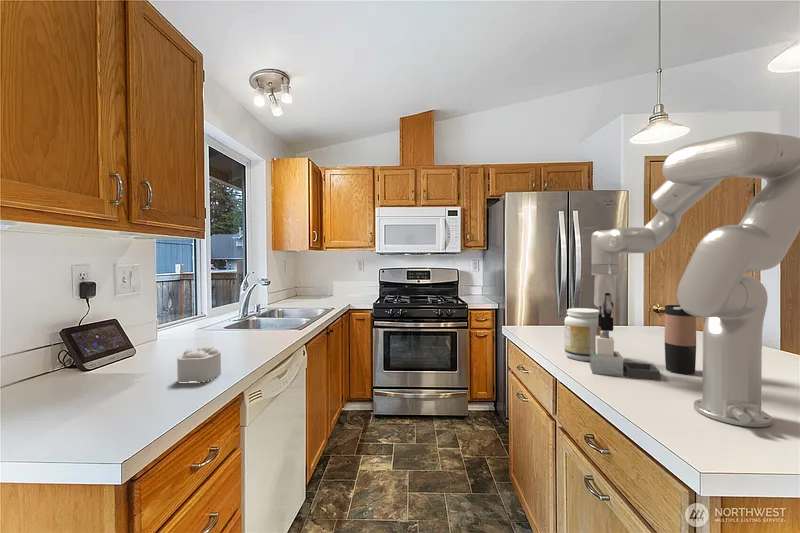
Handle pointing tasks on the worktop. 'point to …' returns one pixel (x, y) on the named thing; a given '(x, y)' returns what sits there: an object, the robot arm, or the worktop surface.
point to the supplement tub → (581, 332)
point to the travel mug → (680, 340)
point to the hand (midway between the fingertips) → (605, 328)
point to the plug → (604, 344)
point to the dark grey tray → (641, 370)
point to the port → (606, 364)
